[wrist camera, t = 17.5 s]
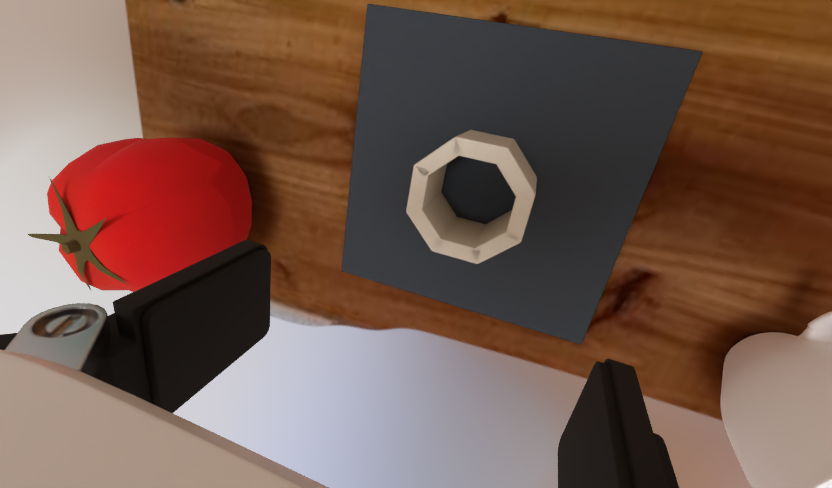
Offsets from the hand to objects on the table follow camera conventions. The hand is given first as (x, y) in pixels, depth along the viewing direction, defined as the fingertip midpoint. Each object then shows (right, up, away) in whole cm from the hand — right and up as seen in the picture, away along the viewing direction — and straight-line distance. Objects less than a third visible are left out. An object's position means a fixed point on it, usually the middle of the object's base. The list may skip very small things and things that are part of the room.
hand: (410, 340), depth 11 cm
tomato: (-17, +7, +24) cm, 30 cm away
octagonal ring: (+5, +7, +17) cm, 18 cm away
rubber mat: (+5, +7, +17) cm, 19 cm away
